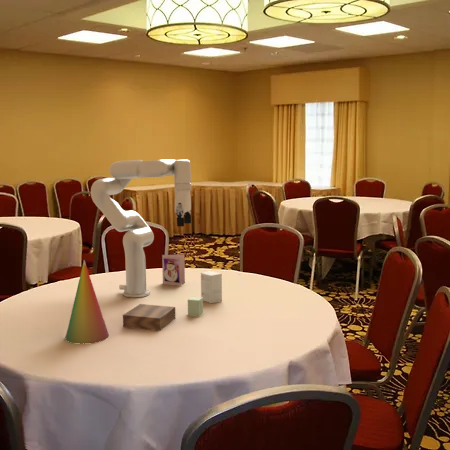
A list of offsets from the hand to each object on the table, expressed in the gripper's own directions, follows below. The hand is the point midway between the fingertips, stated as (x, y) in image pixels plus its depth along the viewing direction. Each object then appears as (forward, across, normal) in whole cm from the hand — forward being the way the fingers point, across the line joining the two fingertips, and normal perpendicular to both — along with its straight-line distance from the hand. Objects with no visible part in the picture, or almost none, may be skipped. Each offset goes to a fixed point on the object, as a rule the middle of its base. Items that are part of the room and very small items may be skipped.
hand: (184, 224), depth 265 cm
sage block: (+36, +19, +10) cm, 42 cm away
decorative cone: (+35, +56, -21) cm, 70 cm away
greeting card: (+35, -28, -16) cm, 48 cm away
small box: (+36, -3, +11) cm, 38 cm away
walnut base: (+35, +35, -4) cm, 50 cm away
